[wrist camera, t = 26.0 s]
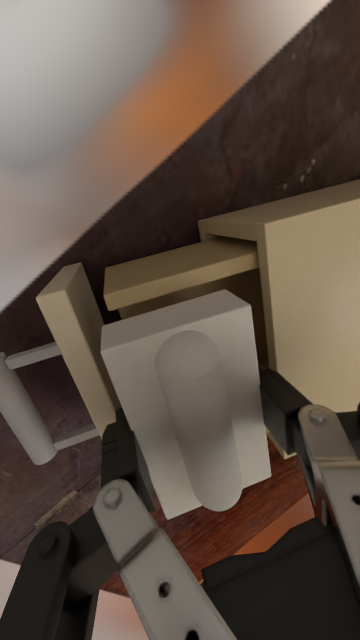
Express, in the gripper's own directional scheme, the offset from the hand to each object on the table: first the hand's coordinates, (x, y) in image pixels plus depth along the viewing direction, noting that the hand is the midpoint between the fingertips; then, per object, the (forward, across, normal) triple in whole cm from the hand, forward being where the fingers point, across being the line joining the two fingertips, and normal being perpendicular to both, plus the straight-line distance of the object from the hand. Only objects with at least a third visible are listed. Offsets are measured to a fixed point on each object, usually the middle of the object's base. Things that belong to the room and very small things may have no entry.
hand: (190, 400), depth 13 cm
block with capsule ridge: (+1, 0, 0) cm, 1 cm away
